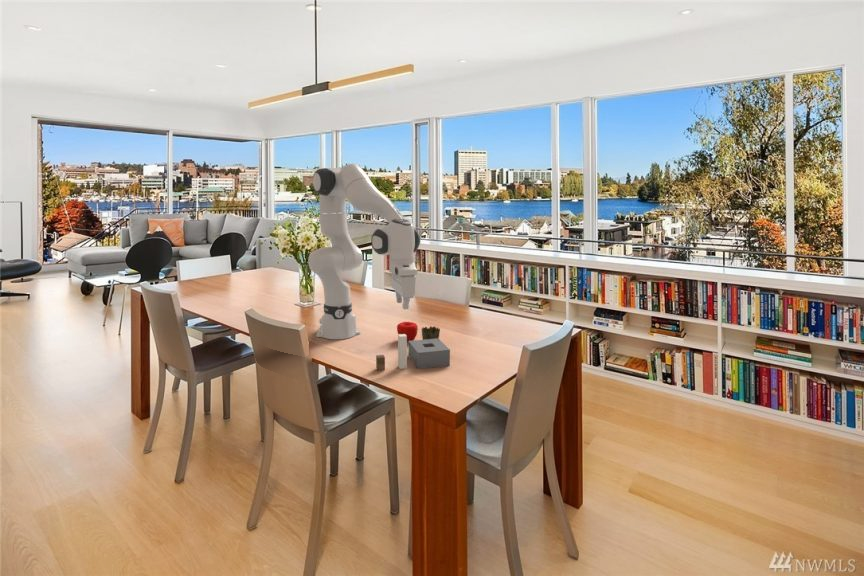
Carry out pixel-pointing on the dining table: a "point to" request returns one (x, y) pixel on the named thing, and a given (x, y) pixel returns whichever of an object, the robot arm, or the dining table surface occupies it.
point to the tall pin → (402, 351)
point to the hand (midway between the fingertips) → (402, 305)
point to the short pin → (380, 362)
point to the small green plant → (430, 333)
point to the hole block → (429, 353)
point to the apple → (408, 330)
